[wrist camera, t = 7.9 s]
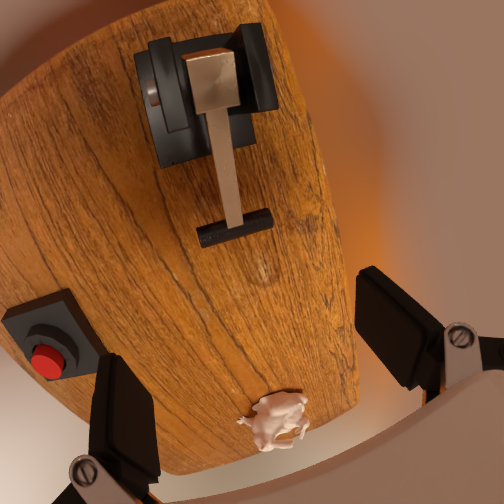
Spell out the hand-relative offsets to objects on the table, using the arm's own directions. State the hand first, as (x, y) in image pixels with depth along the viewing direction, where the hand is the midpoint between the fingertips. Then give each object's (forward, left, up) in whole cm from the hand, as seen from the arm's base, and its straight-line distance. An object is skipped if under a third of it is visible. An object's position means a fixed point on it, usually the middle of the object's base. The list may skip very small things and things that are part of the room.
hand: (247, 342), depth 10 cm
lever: (+2, +5, -10) cm, 11 cm away
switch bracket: (+2, +9, -17) cm, 19 cm away
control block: (-20, -9, -17) cm, 28 cm away
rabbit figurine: (+1, -32, -17) cm, 36 cm away
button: (-20, -9, -13) cm, 26 cm away
